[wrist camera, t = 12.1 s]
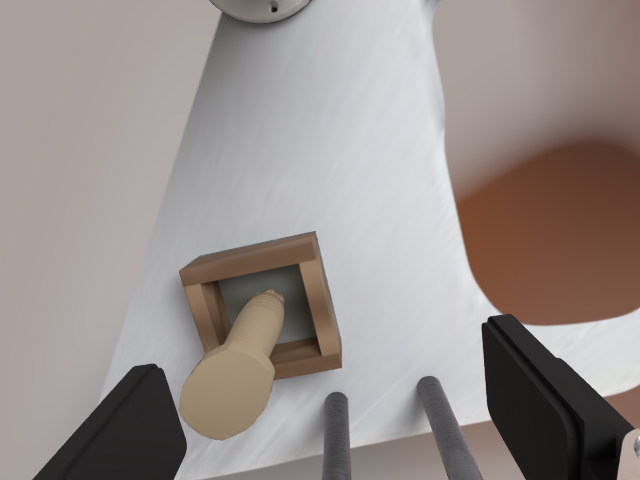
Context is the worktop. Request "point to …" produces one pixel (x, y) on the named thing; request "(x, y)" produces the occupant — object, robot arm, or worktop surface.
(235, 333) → the handle
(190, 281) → the socket
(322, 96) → the worktop surface
